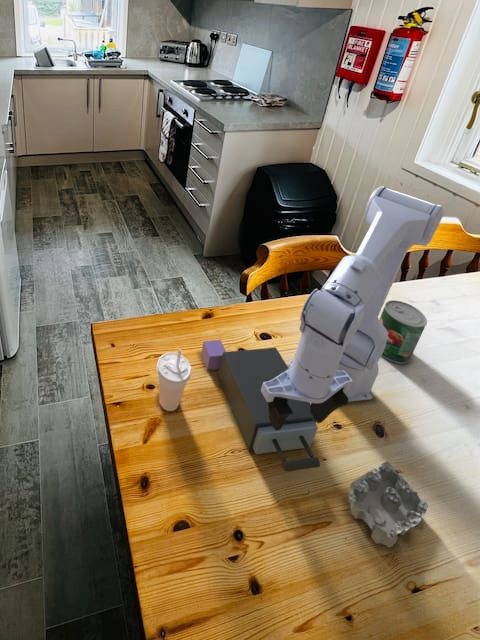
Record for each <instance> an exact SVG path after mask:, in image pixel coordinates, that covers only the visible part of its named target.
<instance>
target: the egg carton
mask: <svg viewBox="0 0 480 640" xmlns="http://www.w3.org/2000/svg"><path fill="white" fill-rule="evenodd" d="M347 493H348V494H347V497H348V498H347V501H348V503H349V506H350V514H351V515H352V516H353V518H354V519H355V520H357V519H361V520H363V521H364V522H365V524H367V526H368V527H369V529H370V531H371V535H370V537H371V539H372V541H373V542H374V543H375V544H382V545H384V546H386V547H387V548H392V547H393V546H394V545H395V544H397V540H398V538H399V536H398V534H399V535H401V536H404V535H405V534H406V533H407V532H408V531H409V530H410V529H411V528H415V526H417V525H419V523H420V522H421V521H422V519H423V517H424V515H426V513H427V510H428V509H429V504H428V503H427V502H426V501H423V499H421V497H420V496H419V495H418V491H417V490H415V489H414V488H413V487H412V486H411V485H410V484H409V482H408V481H407V480H406V479H405V478H404V476H402V474H401V473H398V471H396V469H395V468H394V466H393V465H392V464H391V463H390V461H388V460H386V461H384V462H382V463H381V464H379V465H378V466H376V467H374V468H373V469H370V470H369V471H367V472H366V473H365V474H363V475H361V476H360V477H357V478H356V479H355V480H353V481H352V482H351V484H350V486H349V490H348V492H347Z"/></svg>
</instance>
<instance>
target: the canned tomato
mask: <svg viewBox="0 0 480 640" xmlns="http://www.w3.org/2000/svg"><path fill="white" fill-rule="evenodd" d="M380 314H381V315H380V317H379V318H378V319H379V320H380V322H381V323H382V325H383V326H384V327H385V329H386V330H387V332H388V339H387V342H386V346H385V349H384V351H383V353H382V355H381V358H383V359H385V360H387V361H389V362H391V363H394V364H399V365H402V364H407V363H409V362H410V361H411V358H412V356H413V354H414V352H415V349H416V347H417V345H418V343H419V341H420V339H421V337H422V334H423V332H424V330H425V328H426V326H427V324H428V319H427V317H426V316H425V314H424V313H423V312H421V310H419V309H418V308H416V307H415V306H413V305H412V304H409V303H407V302H404V301H401V300H394V299H392V300H388V301H386V302H385V303H384V306H383V308H382V312H381V313H380Z"/></svg>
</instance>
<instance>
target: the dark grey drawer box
mask: <svg viewBox="0 0 480 640" xmlns="http://www.w3.org/2000/svg"><path fill="white" fill-rule="evenodd" d="M289 368H290V367H289V366H288V364H287V363H286V362H285V360H284V358H283V357H282V355H281V353H280V351H279V350H278V349H277V347H270V348H269V347H267V348H254V349H244V350H233V351H226V352H223V355H222V359H221V364H220V369H218V374H217V378H218V380H219V383H220V386H221V388H222V390H223V393H224V395H225V398H226V400H227V403H228V405H229V408H230V410H231V412H232V415H233V416H234V419H235V422H236V424H237V426H238V429H239V431H240V433H241V436H242V438H243V442H244V443H245V447H246V448H247V451H254V449H253V444H254V441H255V437H256V434H257V431H258V428H259V427H260V426H268V425H272V423H271V422H270V420H269V406H268V402H267V401H266V399H265V398H264V396H263V394H262V392H261V388H262V385H263V382H264V380H267V379H274V378H275V377H277V376H278V375H280V374H281V373H283V372H284V371H286V370H288V369H289ZM286 399H287V400H288V402H287V403H288V405H289V406H290V408H291V410H292V411H293V414H291V415H289V416H288V417H287V418H286V419H285V421H284V423H283V424H285V423H293V422H302V421H303V422H308V421H314V422H315V423H316V424H317V422H316V420H315V418H314V417H313V415H312V414H311V412H310V406H311V403H310V402H304V401H299V400H294V399H288V398H286Z"/></svg>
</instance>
